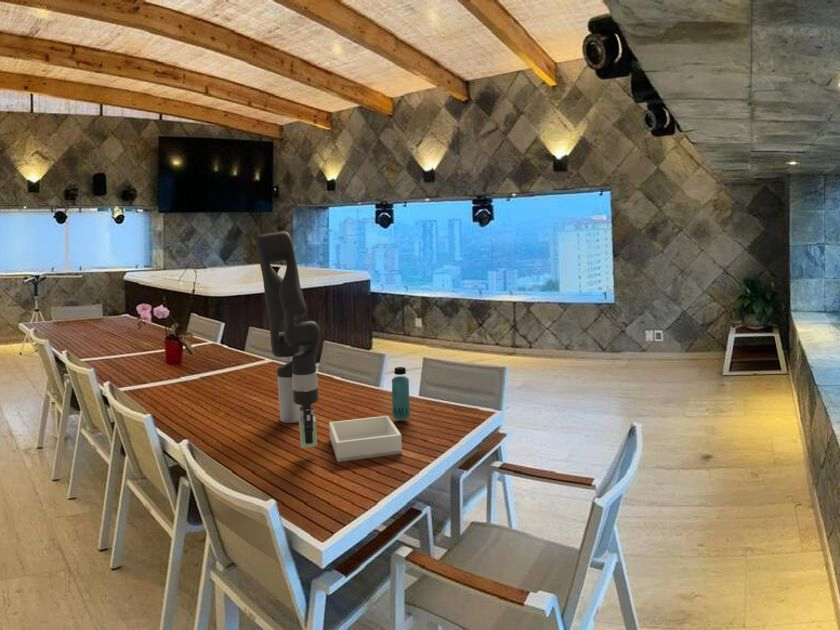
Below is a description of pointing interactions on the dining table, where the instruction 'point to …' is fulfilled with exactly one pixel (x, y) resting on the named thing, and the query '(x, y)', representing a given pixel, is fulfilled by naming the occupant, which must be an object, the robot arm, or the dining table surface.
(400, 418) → the beverage bottle
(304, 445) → the green block
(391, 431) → the serving bin
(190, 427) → the dining table surface
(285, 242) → the robot arm
